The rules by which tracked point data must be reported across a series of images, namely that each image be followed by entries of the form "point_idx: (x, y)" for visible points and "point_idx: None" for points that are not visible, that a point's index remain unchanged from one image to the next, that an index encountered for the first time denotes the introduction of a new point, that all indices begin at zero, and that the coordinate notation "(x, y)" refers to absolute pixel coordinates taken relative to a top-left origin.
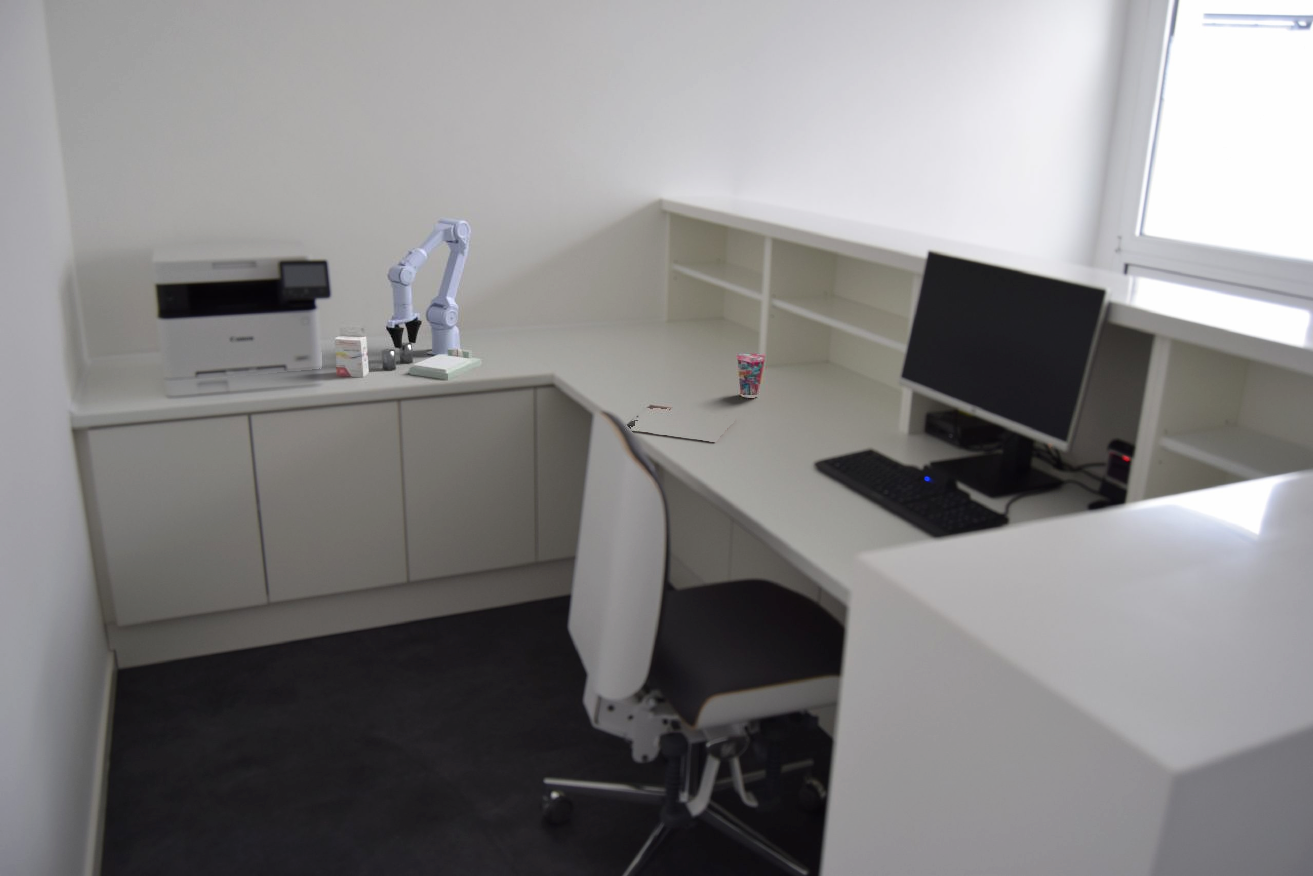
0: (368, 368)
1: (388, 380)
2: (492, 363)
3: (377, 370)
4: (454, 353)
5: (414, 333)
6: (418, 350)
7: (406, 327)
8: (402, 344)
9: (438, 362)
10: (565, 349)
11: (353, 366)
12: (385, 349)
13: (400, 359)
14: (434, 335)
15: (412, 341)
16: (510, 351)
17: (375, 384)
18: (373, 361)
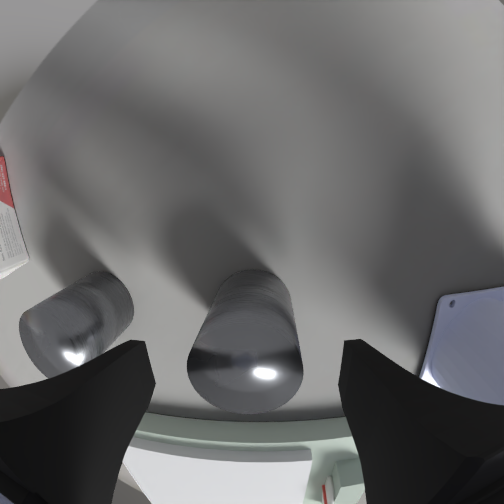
0: (15, 267)
1: (38, 370)
2: (364, 497)
3: (64, 266)
4: (328, 493)
5: (363, 448)
6: (479, 207)
7: (411, 421)
8: (220, 361)
9: (199, 491)
10: None
11: None
12: (46, 322)
13: (215, 297)
14: (486, 400)
15: (343, 378)
16: None
17: (5, 352)
18: (167, 121)
